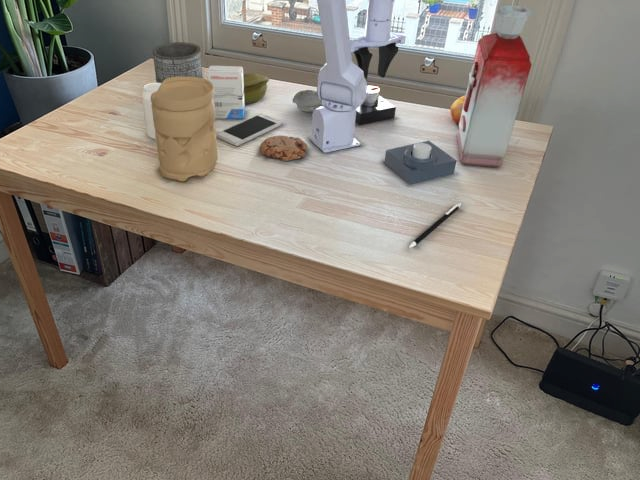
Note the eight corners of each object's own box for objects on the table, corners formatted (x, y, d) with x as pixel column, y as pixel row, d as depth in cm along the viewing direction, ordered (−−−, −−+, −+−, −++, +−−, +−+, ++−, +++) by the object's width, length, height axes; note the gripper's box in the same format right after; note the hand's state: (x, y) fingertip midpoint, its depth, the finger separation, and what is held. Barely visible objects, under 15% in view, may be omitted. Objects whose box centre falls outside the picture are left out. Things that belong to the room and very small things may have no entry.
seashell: (283, 111, 147) (283, 92, 144) (300, 100, 152) (301, 82, 149) (323, 123, 141) (324, 103, 138) (339, 111, 147) (341, 92, 143)
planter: (213, 95, 155) (210, 46, 147) (185, 111, 148) (180, 61, 139) (177, 86, 160) (172, 39, 152) (149, 102, 153) (142, 52, 144)
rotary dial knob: (365, 108, 141) (367, 92, 138) (356, 101, 144) (358, 86, 141) (381, 105, 142) (383, 89, 139) (372, 98, 145) (374, 83, 142)
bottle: (505, 170, 123) (550, 21, 103) (455, 166, 125) (490, 19, 105) (497, 139, 134) (537, 0, 114) (452, 136, 135) (483, -2, 116)
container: (156, 184, 120) (144, 100, 108) (164, 155, 130) (154, 76, 118) (216, 183, 120) (211, 100, 108) (219, 155, 130) (215, 75, 118)
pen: (462, 206, 112) (463, 201, 111) (410, 250, 102) (411, 245, 101) (458, 205, 113) (459, 200, 112) (406, 248, 102) (407, 243, 101)
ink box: (245, 111, 147) (244, 65, 140) (243, 119, 143) (241, 72, 136) (212, 110, 148) (209, 64, 140) (209, 118, 144) (205, 71, 137)
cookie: (258, 143, 134) (258, 131, 132) (303, 141, 134) (304, 129, 132) (261, 164, 126) (261, 152, 124) (309, 162, 127) (310, 149, 125)
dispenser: (411, 186, 118) (415, 164, 115) (383, 163, 126) (387, 142, 123) (455, 175, 121) (461, 154, 118) (426, 153, 129) (430, 132, 126)
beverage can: (166, 128, 140) (160, 79, 133) (178, 137, 136) (172, 88, 129) (143, 134, 138) (135, 85, 130) (154, 144, 134) (147, 94, 126)
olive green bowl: (268, 108, 149) (268, 82, 144) (222, 107, 149) (220, 82, 145) (269, 90, 157) (269, 66, 153) (225, 90, 158) (224, 66, 153)
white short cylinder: (418, 161, 117) (420, 152, 116) (408, 153, 119) (410, 144, 118) (433, 158, 118) (435, 149, 117) (423, 150, 120) (424, 141, 119)
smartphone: (215, 136, 136) (215, 133, 136) (260, 116, 145) (260, 112, 144) (237, 146, 132) (236, 142, 132) (281, 124, 141) (281, 121, 140)
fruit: (495, 125, 136) (485, 97, 132) (463, 141, 139) (451, 114, 135) (485, 111, 142) (475, 83, 138) (454, 126, 145) (443, 100, 141)
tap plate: (359, 125, 140) (360, 113, 138) (341, 111, 147) (342, 99, 145) (394, 118, 143) (396, 106, 141) (375, 104, 149) (377, 93, 147)
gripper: (397, 9, 135) (389, 67, 143) (342, 17, 131) (337, 76, 139) (414, 17, 130) (404, 77, 139) (358, 25, 126) (352, 86, 134)
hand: (372, 77), depth 139 cm, fingers open, 4 cm apart
